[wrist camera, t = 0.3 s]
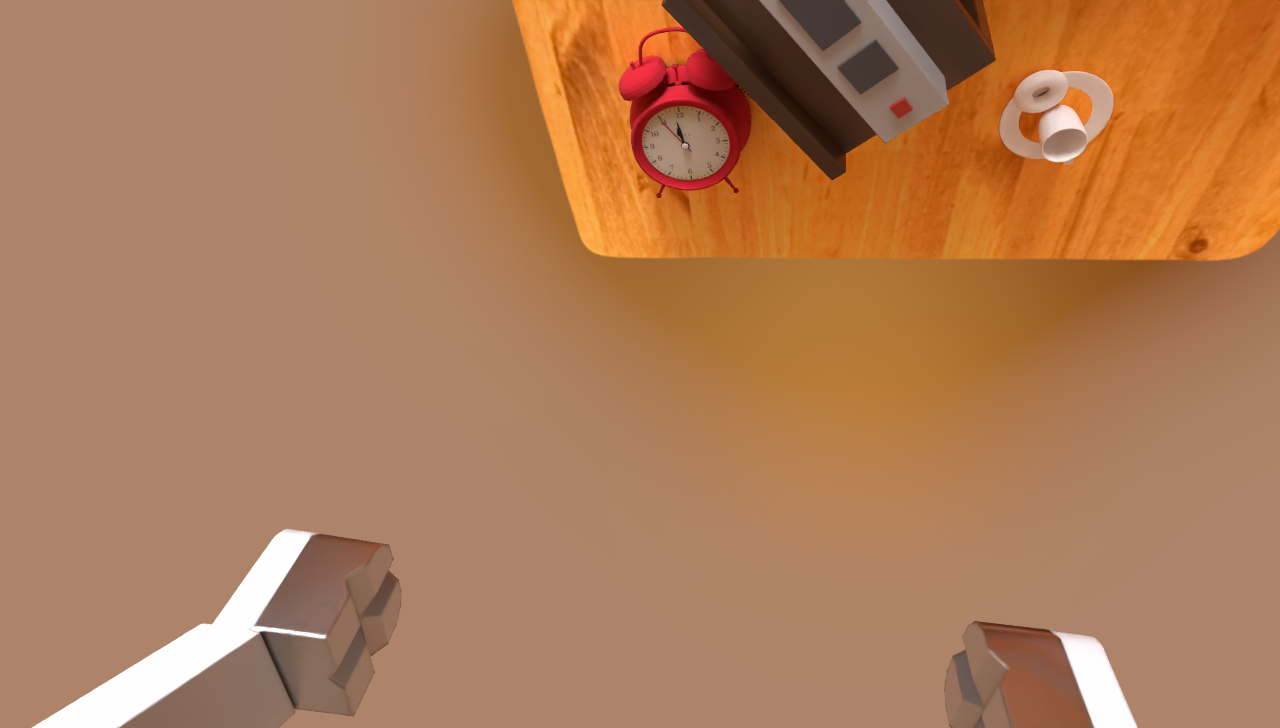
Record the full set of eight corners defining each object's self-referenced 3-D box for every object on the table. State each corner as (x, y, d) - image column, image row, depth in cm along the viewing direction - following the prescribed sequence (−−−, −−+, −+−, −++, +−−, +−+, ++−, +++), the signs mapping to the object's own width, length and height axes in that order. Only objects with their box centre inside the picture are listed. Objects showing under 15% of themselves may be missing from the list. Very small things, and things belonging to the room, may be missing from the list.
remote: (736, -56, 42) (731, -29, 40) (798, -115, 39) (796, -89, 37) (883, 116, 49) (885, 146, 47) (945, 76, 46) (949, 107, 45)
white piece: (1007, 65, 56) (1015, 96, 53) (1127, 50, 54) (1141, 83, 51) (992, 159, 63) (998, 191, 60) (1098, 150, 60) (1109, 182, 58)
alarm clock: (642, 207, 68) (592, 87, 54) (648, 152, 70) (602, 25, 57) (755, 199, 65) (731, 70, 52) (758, 143, 67) (736, 6, 54)
